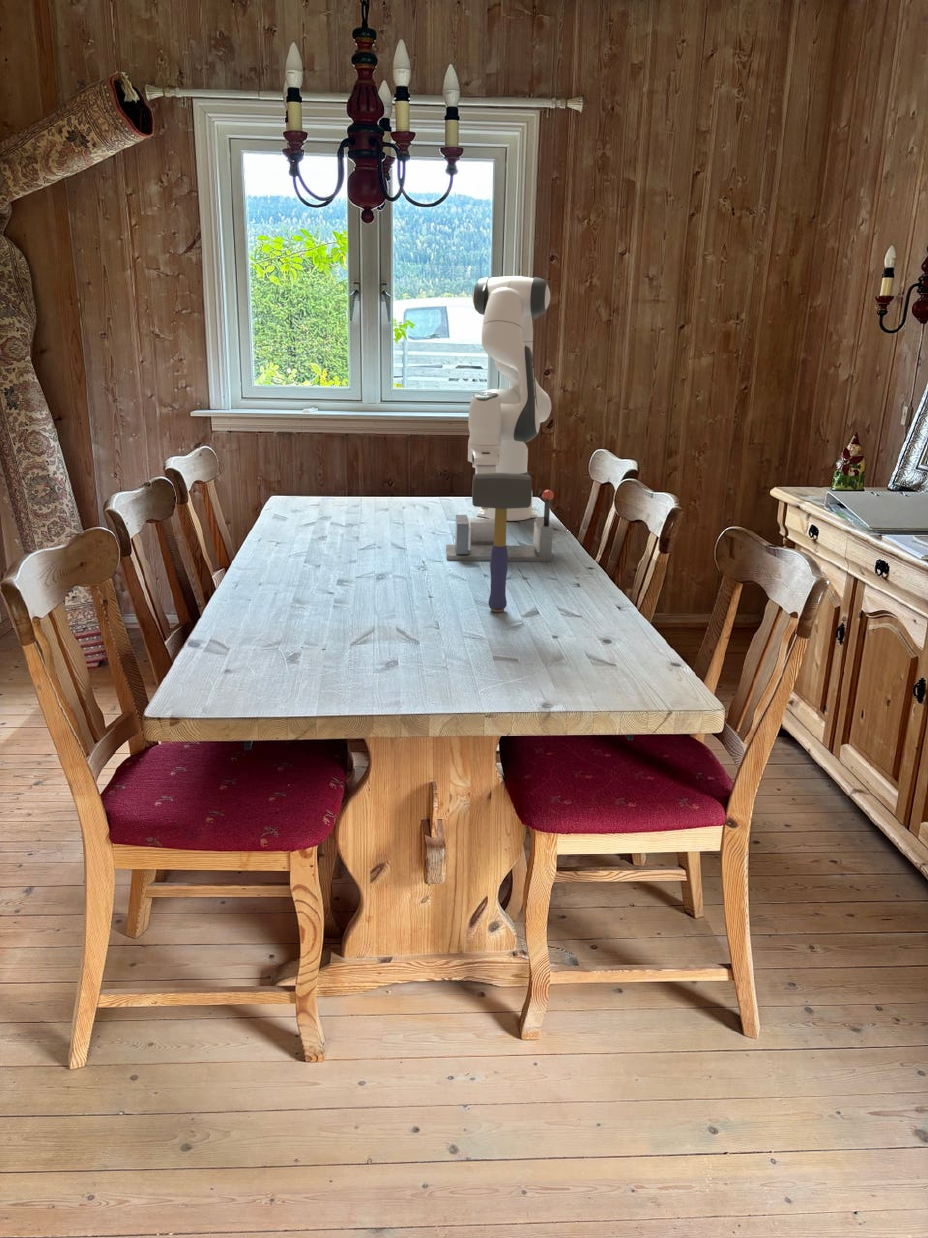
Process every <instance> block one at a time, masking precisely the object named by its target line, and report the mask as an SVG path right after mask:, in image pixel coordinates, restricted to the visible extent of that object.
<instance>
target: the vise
mask: <svg viewBox="0 0 928 1238" xmlns="http://www.w3.org/2000/svg"><path fill="white" fill-rule="evenodd" d="M541 496H542V499H544V506H543V507H544V510H543V516H538V517H535V521H533V541H532V543H533V545H506V547H507V554H508V562H539V561H543V562H545V561H548V563H550V562H552V554H553V553H552V552H553V537H554V536H553V533H554V532H553V531H554V526H553V524H552V523H551V520H550V516H551V515H550V512H551V500H552V499H553V498H554V492H553V491H552V490H551V489H545V490H544V491H543V492H542V494H541ZM492 547H493V545H470V550H468V554H456V547H455V544H445V551H446V553H445V554H446V560H447V561H472V562H473V561H478V562H479V561H480V562H481V561H482V562H484V561H487V562H490V561H491V552H492ZM545 563H546V562H545Z"/></svg>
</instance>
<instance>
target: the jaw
mask: <svg viewBox="0 0 928 1238" xmlns="http://www.w3.org/2000/svg"><path fill="white" fill-rule="evenodd" d="M454 528H455V529H454V530H455V537H454V539H455V540H454V545H455V547H456V554H468V550H470V543H471V525H470V520H469V519H468V515H467V514H455V527H454Z"/></svg>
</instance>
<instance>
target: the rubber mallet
mask: <svg viewBox="0 0 928 1238" xmlns="http://www.w3.org/2000/svg"><path fill="white" fill-rule="evenodd" d="M532 482H533V481H532V476H531V475H530V474H528V475H523V474H511V473H483V474H475V473H474V474H473V476H472V485H471V486H472V487H471V498H472V499H471V500H472V501H471V502H472V503H471V504H472V505H473V507H476V508H477V507H478V508H481V507H485V508H495V528H494V545H493V547H492V552H491V561H489V568H490V569H489V570H490V572H489V573H490V594H489V598H488V607H489V609H490V611H492V612H495V613H499V612H501V613H502V612H504V611H505V610H506V607H507V602H508V601H507V597H506V596H507V595H506V588H507V587H506V586H507V583H506V582H507V574H508V566H509V561H508V554H507V547H506V546H507V522H508V521H507V509H511V508H528V507H530V505H531V497H532V498H533V487H532V486H533V483H532Z"/></svg>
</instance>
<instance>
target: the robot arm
mask: <svg viewBox="0 0 928 1238" xmlns="http://www.w3.org/2000/svg"><path fill="white" fill-rule="evenodd" d="M472 290H473V291H472V296H471V297H472V304H473V307H474V310H475V311H476V312H477V313H478V314H479V315H481V316H482V315H483V319H482V329H481V346H482V348H483V351H484V352H485V353H486V354H487V355H488V357H490V358H491V359H493V360H494V365H495V368H496V370H497V371H498V373H500V374H502V375H503V376H505V377H507V379H508V382H509V386H510V388H492V389H486V390H483V391H479V392H476V393H474V394H473V395H471V396H470V397H471V398H470V403H469V409H468V422H467V423H468V425H467V426H468V431H469V437H468V443H467V461H468V462H470V463H472V468H474V469H475V473H474V474H483V473H511V474H523V475H529V472H528V459H529V448H528V445H527V444H526V443H528V442H531V441H532V440H533V439H534V438H535V437H537V436H538V434H539V431H540V427H541V423H544V422H546V421H547V420H548V418H549V417H550V414H551V411H552V401H551V398H550V396H549V394H548V393H547V391H545V390H544V389H543V388H542V387H541V386H540V384H539V382H538V381H537V380H538V379H537V378H536V376H535V374H536V373H535V366H534V365H535V364H534V358H533V357H534V356H533V345H534V342H533V341H534V328H533V327H534V326H533V321H536V320H537V319H538V317H541V316H543V315H544V314H545V313H546V312H547V310H548V307H549V305H550V301H551V291H550V288H549V284H548V281H546V280H545V279H544V278H541V277H537V276H534V277H529V276H520V275H511V276H495V277H491V276H486V277H482V278H481V277H480V278H479V279H478V280H477V281H476V282H475V283H474V288H473V289H472ZM476 515H477V517H483V518H486V519H495V508H485V507H480V509H479V510H478V511H477V513H476ZM536 517H539V516H538V513H537V512H535V511H534V510H533V496H532V497H531V505H530V507H528V508H511V509H507V522H508V521H510V522H511V521H512V522H513V521H524V520H528V519H532V518H536Z"/></svg>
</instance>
